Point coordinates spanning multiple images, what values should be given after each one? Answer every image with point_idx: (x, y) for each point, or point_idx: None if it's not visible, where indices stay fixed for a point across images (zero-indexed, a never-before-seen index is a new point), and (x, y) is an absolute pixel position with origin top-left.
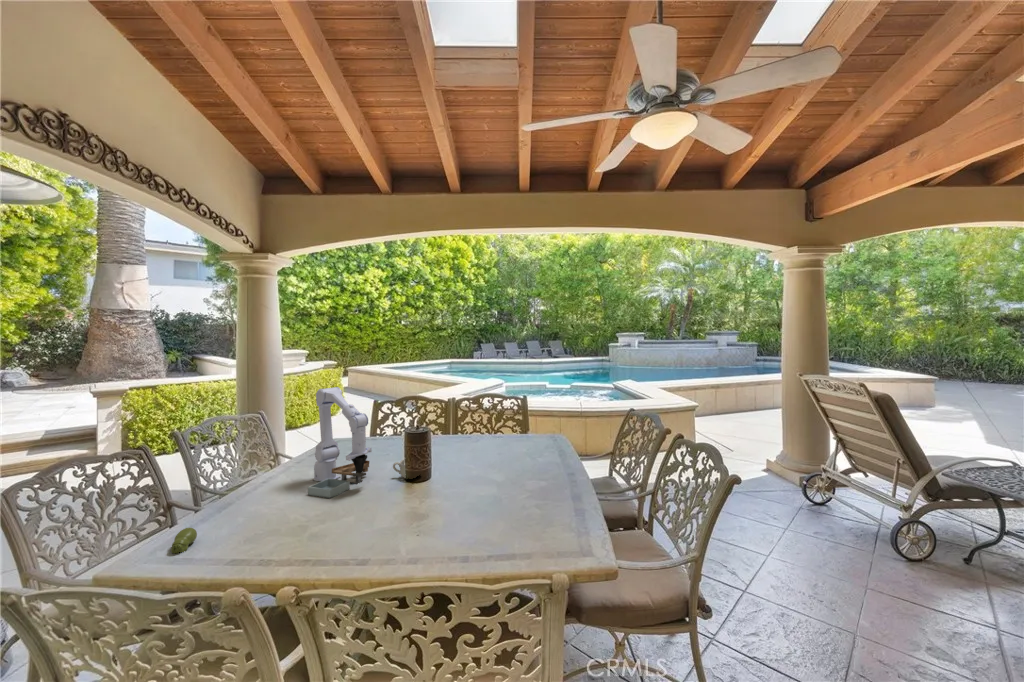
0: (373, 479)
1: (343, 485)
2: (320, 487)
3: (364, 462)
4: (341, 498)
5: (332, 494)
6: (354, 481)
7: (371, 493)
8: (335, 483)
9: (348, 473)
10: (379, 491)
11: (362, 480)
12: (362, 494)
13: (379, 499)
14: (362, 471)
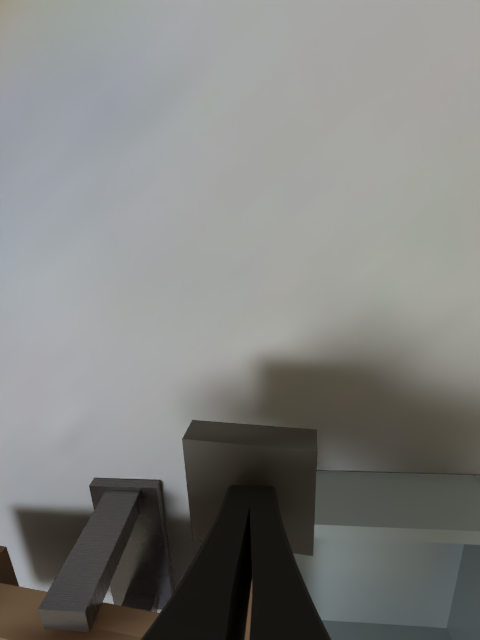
0: (20, 434)
1: (341, 514)
2: (358, 635)
3: (165, 627)
4: (465, 400)
5: (470, 492)
6: (141, 520)
7: (284, 234)
8: None
9: None
10: (212, 194)
11: (93, 484)
12: (332, 297)
13: (406, 19)
14: (8, 567)
